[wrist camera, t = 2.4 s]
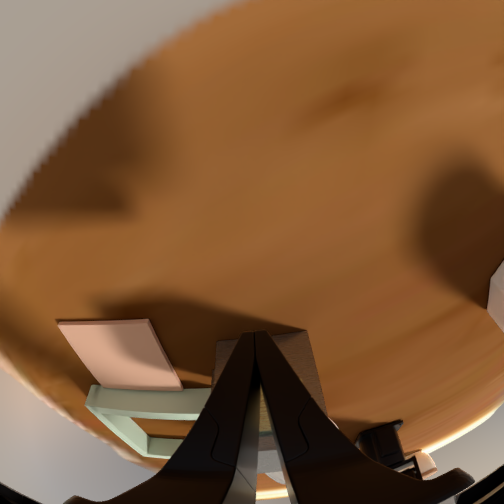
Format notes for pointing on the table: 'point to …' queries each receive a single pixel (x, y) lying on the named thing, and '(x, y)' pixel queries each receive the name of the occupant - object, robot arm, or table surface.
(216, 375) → the grey block
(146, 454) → the frame
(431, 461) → the lidded jar
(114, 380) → the terracotta mat
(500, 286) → the jar
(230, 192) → the table surface
